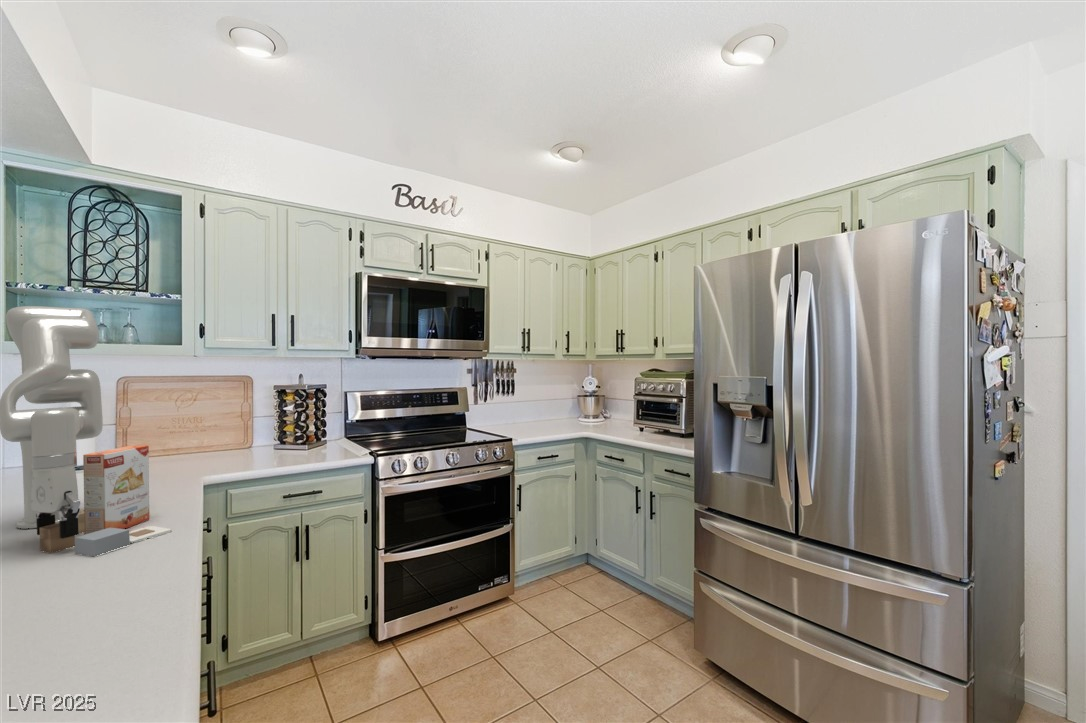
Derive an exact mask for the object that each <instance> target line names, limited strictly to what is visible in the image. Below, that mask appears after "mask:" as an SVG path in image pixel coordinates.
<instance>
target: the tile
mask: <svg viewBox="0 0 1086 723" xmlns="http://www.w3.org/2000/svg"><path fill="white" fill-rule="evenodd" d="M172 532H173V529H172V528H166V527H160V526H155V525H154V526H152V525H147V526H145V527H141V528H138V529H134V530H131V531H130V530H129V536H130V543H133V542H136V543H138V542H137V541H140V540H143V541H145V540H144V539H146V540H148V539H147V538H149V539H152V538H151V537H153V538H155V536H156V537H159V536H162V535H166V534H168V533H172ZM158 535H159V536H158ZM140 542H141V541H140ZM133 544H134V543H133Z"/></svg>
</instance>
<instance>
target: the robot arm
mask: <svg viewBox="0 0 1086 723" xmlns="http://www.w3.org/2000/svg"><path fill="white" fill-rule="evenodd" d="M5 322H6V328H7V330H8V333H9V335H10V338H11V339H12V341H13V342H14V344H15V346H16V348H17V349H18V351H19V354H20V358H21V374H20V375H19V376H17V377H16V378H15V379H14V380H12V381H11V382H10V383H9V385H7V387H6V388H5V389H4V391H3V393H2V394H1V397H0V434H1V437H2V438H3V440H6V441H7V442H11V443H20V449H21V460H22V484H23V486H22V487H23V488H22V489H23V512H24V514H23V515H24V516H23V517H24V519H21V520H18V521H17V522H16V528H17V529H20V528H21V529H22V530H23V529H24V530H25V529H26V530H27V529H28V528H29V529H36V535H37V536H40V527H44V526H48V525H52V524H56V523H59V527H60V538H62V539H63V538H67V537H71V536H75V537H76V536H78V535H79V534H78V533H79V532H78V517H79V514H78V513H79V511H80V510H81V509H80V506H81V500H80V499H79V489H78V488H79V486H78V479H77V473H76V468H75V467H77V466H78V458H77V456H78V455H77V454H78V452H77V440H78V441H79V440H85V439H93V438H96V437H98V436H100V435H101V433H102V431H103V425H104V422H103V421H104V420H103V419H104V418H103V405H102V402H103V401H102V392H101V390H102V387H101V381H100V378H99V375H98V373H96V371H94V370H91V369H88V368H87V369H86V368H85V369H84V368H83V369H82V368H81V369H80V368H79V369H76V368H75V369H72V366H71V356H70V350H83V349H84V350H92V349H93V348H95V347H96V346H97V345H98V343H99V327H98V324H97V321H96V319H95V316H94V315H93V312H92V311H90V310H89V309H87V308H81V307H80V308H79V307H60V306H43V305H42V306H40V305H39V306H37V305H26V306H25V305H24V306H16V307H12V308H10V309H9V310H7V312H6V314H5ZM21 397H23V398H24V399H25V400H26V401H27V402H28V403H30V404H35V405H38V404H39V405H41V404H42V405H43V404H44V405H45V404H62V403H63V404H64V403H65V404H66V403H77V404H79V405H80V406H69V407H68V406H66V407H49V408H35V409H18V410H17V409H16V408H17V402H18V401H19V399H20V398H21Z"/></svg>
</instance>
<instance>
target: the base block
mask: <svg viewBox="0 0 1086 723" xmlns="http://www.w3.org/2000/svg"><path fill="white" fill-rule="evenodd" d="M129 532H130V529H127V528H126V529H118V528H107V529H103V530H100V531H96V532H92V533H89V534H85V533H84V534H82V535H79V536H78V535H77V536H75V547H74V554H75V555H78V554H82V555H81V556H85V555H89V556H88V557H91V556H97V555H100V554H102V553H106V552H108V551H111V550H114V549H117V548H120V547H123V546H127V545H130V546H131V544H130V536H129ZM106 554H107V553H106ZM100 556H101V555H100ZM97 557H98V556H97Z"/></svg>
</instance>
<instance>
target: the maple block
mask: <svg viewBox="0 0 1086 723" xmlns="http://www.w3.org/2000/svg"><path fill="white" fill-rule="evenodd" d="M79 510H80V511H79V513H78V514H79V517H78V532H79V533H81V534H83V533H85V525H84V509H79ZM82 532H83V533H82ZM79 533H78V535H80V534H79Z"/></svg>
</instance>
